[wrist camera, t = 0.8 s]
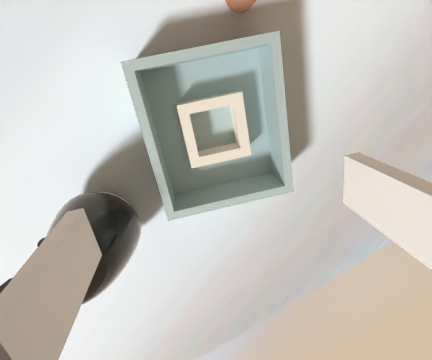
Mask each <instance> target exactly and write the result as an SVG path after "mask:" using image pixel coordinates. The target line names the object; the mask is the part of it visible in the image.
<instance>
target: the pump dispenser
mask: <svg viewBox="0 0 432 360" xmlns="http://www.w3.org/2000/svg"><path fill="white" fill-rule="evenodd" d="M82 208H84V211H85V213H86V216H87V218H88V221H89V223H90V226H91V228H92V231H93V233H94V236H95V238H96V241H97V243H98V246H99V248H100V251H101V253H102V256H101V259H100V261H99V264H98V266H97V268H96V271H95V273H94V275H93V278H92V280H91V283H90V285H89V287H88V290H87V292H86V295H85V297H84V299H83V302H82V304H85V303H87V302H89V301H90V300H92V299H94V298H95V297H97V296H98V295H99V294H101V293H102V292H103V291H104V290H105V289H106V288H108V287H109V286H110V285H111V284H112V283H113V282H114V280H115V279H116V278H117V277H118V276H119V275H120V273H121V272H122V271H123V269H124V268H125V267H126V265H127V264H128V262H129V260H130V259H131V257H132V255H133V253H134V251H135V249H136V247H137V245H138V242H139V238H140V234H141V225H140V220H139V218H138V215H137V213H136V212H135V210H134V209H133V207H132V206H131V205H130V204H129V203H128V202H127V201H126V200H125V199H124V198H122V197H120V196H118V195H116V194H113V193H109V192H90V193H85V194H81V195H79V196H76V197H74V198H73V199H71V200H70V201H68V202H67V203H66V204H65V205H64V206H63V207H62V208H61V210H60V211H59V212H58V214H57V215H56V217H55V219H54V220H53V222H52V224H51V226H50V228H49V231H48V233H47V236H48V234H49V233H50V232H51V231H52V229H53V228H54V227H55V226H56V225H57V223H58V222H59V221H60V220H61V218H62V217H63V216H64V215H65V213H66V212H67V211H72V210H77V209H82ZM47 236H46V237H47ZM46 237H45V238H46ZM45 238H42V239H41V240H40V241H39V242H38V244H37V246H38V247H39V245H40V244H41V243H42V242H43V240H44V239H45ZM82 304H81V305H82Z"/></svg>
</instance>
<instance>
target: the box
mask: <svg viewBox="0 0 432 360" xmlns="http://www.w3.org/2000/svg"><path fill="white" fill-rule="evenodd" d="M121 64H122V68H123V71H124V75H125V78H126V81H127V85H128V88H129V91H130V95H131V98H132V101H133V105H134V108H135V111H136V115H137V118H138V122H139V125H140V128H141V132H142V135H143V138H144V142H145V145H146V148H147V152H148V155H149V158H150V162H151V165H152V169H153V172H154V175H155V179H156V182H157V185H158V189H159V192H160V195H161V199H162V202H163V206H164V209H165V212H166V216H167V219H168V221H169V220H173V219H178V218H182V217H186V216H190V215H195V214H199V213H203V212H207V211H212V210H216V209H220V208H224V207H229V206H233V205H237V204H241V203H246V202H250V201H254V200H259V199H263V198H267V197H271V196H276V195H280V194H284V193H288V192H293V191H294V190H293V178H292V167H291V155H290V143H289V132H288V120H287V108H286V97H285V85H284V73H283V62H282V50H281V38H280V30H279V31H274V32H269V33H264V34H259V35H254V36H249V37H244V38H239V39H234V40H229V41H223V42H218V43H213V44H208V45H203V46H198V47H193V48H188V49H183V50H178V51H173V52H168V53H163V54H158V55H153V56H148V57H143V58H138V59H133V60H128V61H123V62H121Z"/></svg>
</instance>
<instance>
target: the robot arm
mask: <svg viewBox="0 0 432 360" xmlns="http://www.w3.org/2000/svg"><path fill="white" fill-rule="evenodd" d="M343 203H344V204H345V205H346V206H348V207H349V208H350V209H352V210H353V211H354V212H356V213H357V214H358V215H359V216H361V217H362V218H363V219H365V220H366V221H367V222H369V223H370V224H371V225H373V226H374V227H375V228H377V229H378V230H379V231H381V232H382V233H383V234H385V235H386V236H387V237H388V238H390V239H391V240H392V241H394V242H395V243H396V244H398V245H399V246H400V247H402V248H403V249H405V250H406V251H407V252H408V253H410V254H411V255H412V256H414V257H415V258H416V259H417V260H419V261H420V262H422V263H423V264H424V265H425V266H427V267H428V268H429V269H431V270H432V183H430V182H428V181H425V180H423V179H421V178H418V177H416V176H413V175H411V174H409V173H406V172H404V171H401V170H399V169H397V168H394V167H392V166H389V165H387V164H385V163H382V162H380V161H377V160H375V159H373V158H370V157H368V156H365V155H363V154H361V153H355V154H350V155H345V162H344V195H343ZM101 256H102V253H101V251H100V248H99V246H98V243H97V241H96V238H95V236H94V233H93V231H92V228H91V226H90V223H89V221H88V218H87V216H86V213H85V211H84V208H82V209H77V210H72V211H67V212H66V213H65V215H64V216H63V217H62V218H61V220H60V221H59V222H58V223H57V225H56V226H55V227H54V228H53V229H52V231H51V232H50V233H49V234H48V236H47V237H46V238H45V239H44V240H43V242H42V243H41V244H40V245H39V247H38V248H37V249H36V250H35V252H34V253H33V254H32V255H31V256H30V258H29V259H28V260H27V261H26V263H25V264H24V265H23V266H22V268H21V269H20V270H19V271H18V272H17V274H16V275H15V276H14V277H13V278H11V279H9V280H8V281H6V282H5V283H4V284H2V285H1V286H0V360H58V359H59V357H60V354H61V352H62V350H63V347H64V345H65V342H66V340H67V338H68V335H69V333H70V330H71V328H72V326H73V323H74V321H75V318H76V316H77V314H78V311H79V309H80V307H81V304H82V302H83V299H84V297H85V295H86V292H87V290H88V287H89V285H90V283H91V280H92V278H93V275H94V273H95V271H96V268H97V266H98V264H99V261H100V259H101Z"/></svg>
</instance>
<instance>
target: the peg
mask: <svg viewBox="0 0 432 360" xmlns="http://www.w3.org/2000/svg"><path fill="white" fill-rule="evenodd" d="M225 1H226V3H227V5H228V6H229V7H230V8H231V9H232V10H234V11H236V12H243V11H246V10H247V9H249V8H250V7H251V6H252V5H253V4H254V3H255V2H256V1H257V0H225Z"/></svg>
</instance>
